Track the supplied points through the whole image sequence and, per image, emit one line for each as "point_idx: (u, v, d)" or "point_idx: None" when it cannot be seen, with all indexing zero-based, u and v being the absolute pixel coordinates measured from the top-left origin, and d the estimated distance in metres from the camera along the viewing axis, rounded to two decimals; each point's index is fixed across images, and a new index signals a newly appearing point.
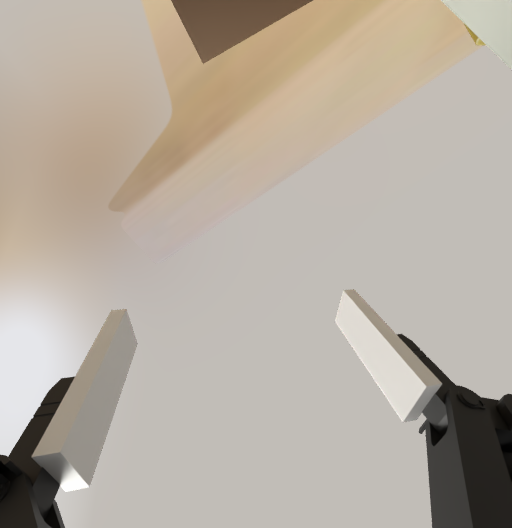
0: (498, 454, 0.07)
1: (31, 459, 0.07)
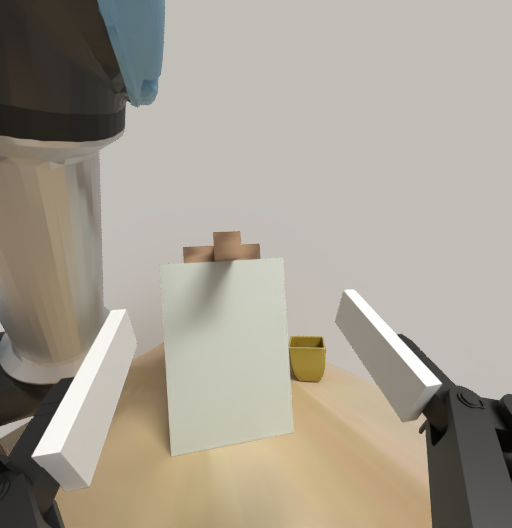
0: (499, 454, 0.07)
1: (31, 459, 0.07)
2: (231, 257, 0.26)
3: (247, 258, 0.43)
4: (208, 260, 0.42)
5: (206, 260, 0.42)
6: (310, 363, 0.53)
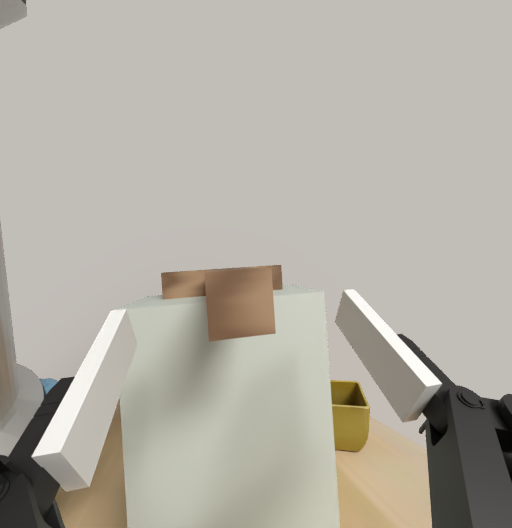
0: (498, 454, 0.07)
1: (31, 459, 0.07)
2: (250, 333, 0.10)
3: None
4: (202, 293, 0.26)
5: (199, 293, 0.26)
6: (347, 427, 0.38)
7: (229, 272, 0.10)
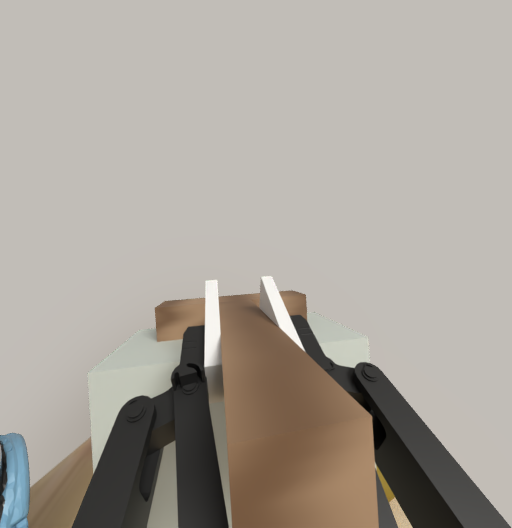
0: None
1: None
2: None
3: None
4: None
5: None
6: None
7: (283, 437, 0.04)
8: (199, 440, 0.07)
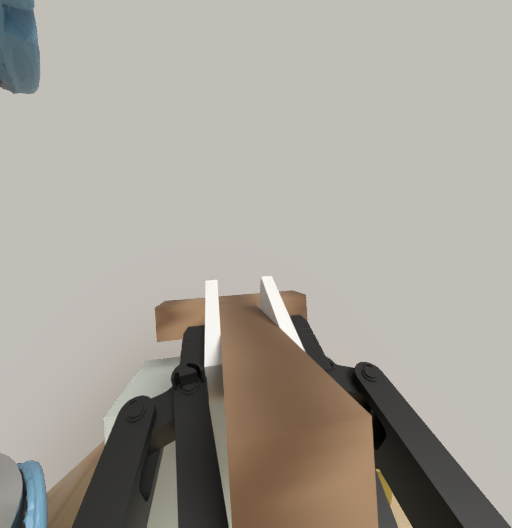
0: None
1: None
2: None
3: None
4: None
5: None
6: None
7: (282, 436, 0.04)
8: (199, 440, 0.07)
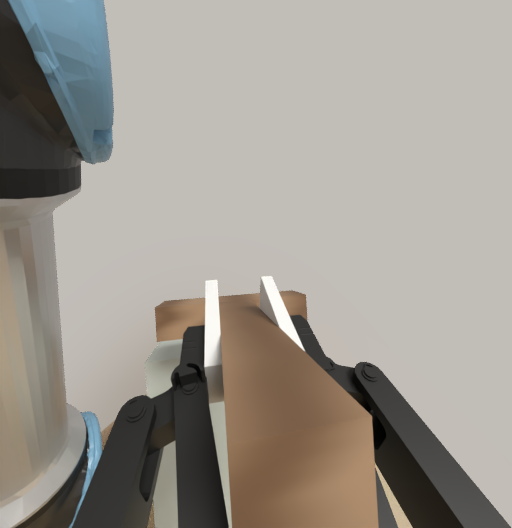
0: None
1: None
2: None
3: None
4: None
5: None
6: None
7: (283, 436, 0.04)
8: (199, 440, 0.07)
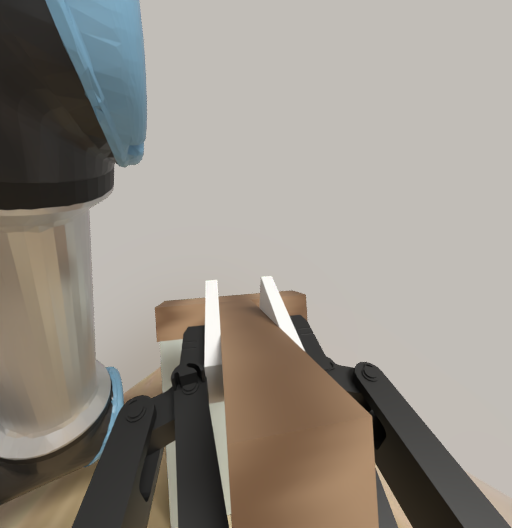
0: None
1: None
2: None
3: None
4: None
5: None
6: None
7: (283, 437, 0.04)
8: (199, 440, 0.07)
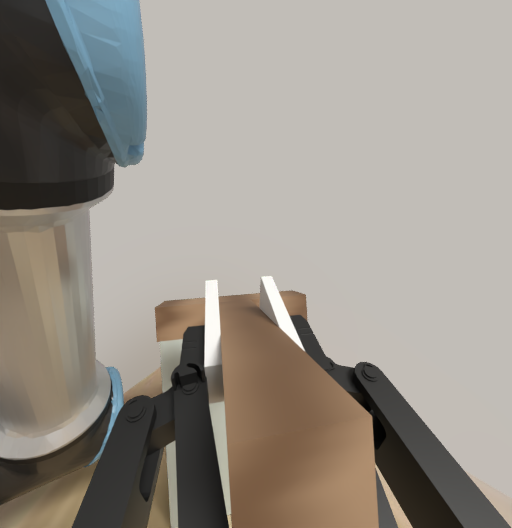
0: None
1: None
2: None
3: None
4: None
5: None
6: None
7: (283, 437, 0.04)
8: (199, 440, 0.07)
